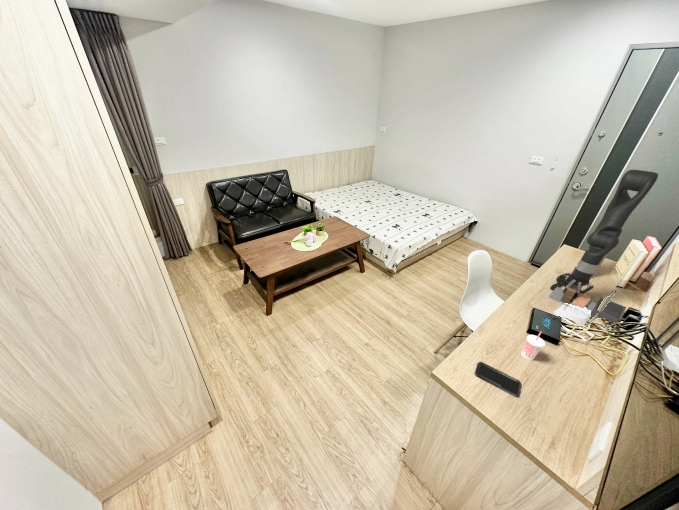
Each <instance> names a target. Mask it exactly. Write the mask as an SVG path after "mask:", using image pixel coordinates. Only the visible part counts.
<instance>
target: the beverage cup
mask: <svg viewBox="0 0 679 510" xmlns="http://www.w3.org/2000/svg"><path fill="white" fill-rule="evenodd" d="M541 334H542V331H541V330H540V332H539V333H538V335H534V334H529V335H527V336H526V341H525V343H524V345H523V347H522V349H521V356H522V357H524V358H525V359H526V360H529V361H533V360H534V359H535V358H536V356H538V353H540V351H541V350H542V348H544V347H545V346H546V342H545V341H544V339H543V338H541V337H540V336H541Z"/></svg>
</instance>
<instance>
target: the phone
mask: <svg viewBox="0 0 679 510" xmlns="http://www.w3.org/2000/svg"><path fill="white" fill-rule="evenodd" d="M474 376H475V377H477V378H479V379H480V380H483V381H484V382H486V383H488V384H490V385H491V386H494V387H496V388H497V389H500V390H501V391H503V392H505V393H507V394H508V395H510V396H512V397H514V398H518V397H519V396H520V394H521V393H520V392H521V388H522V382H521V381H520V380H519V379H517V378H515V377H513V376H511V375H508V373H505V372H503V371H501V370H499V369H497V368H495V367H493V366H491V365H489V364H486V363H485V362H483V361H478V363H477V365H476V368H475V370H474Z"/></svg>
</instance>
